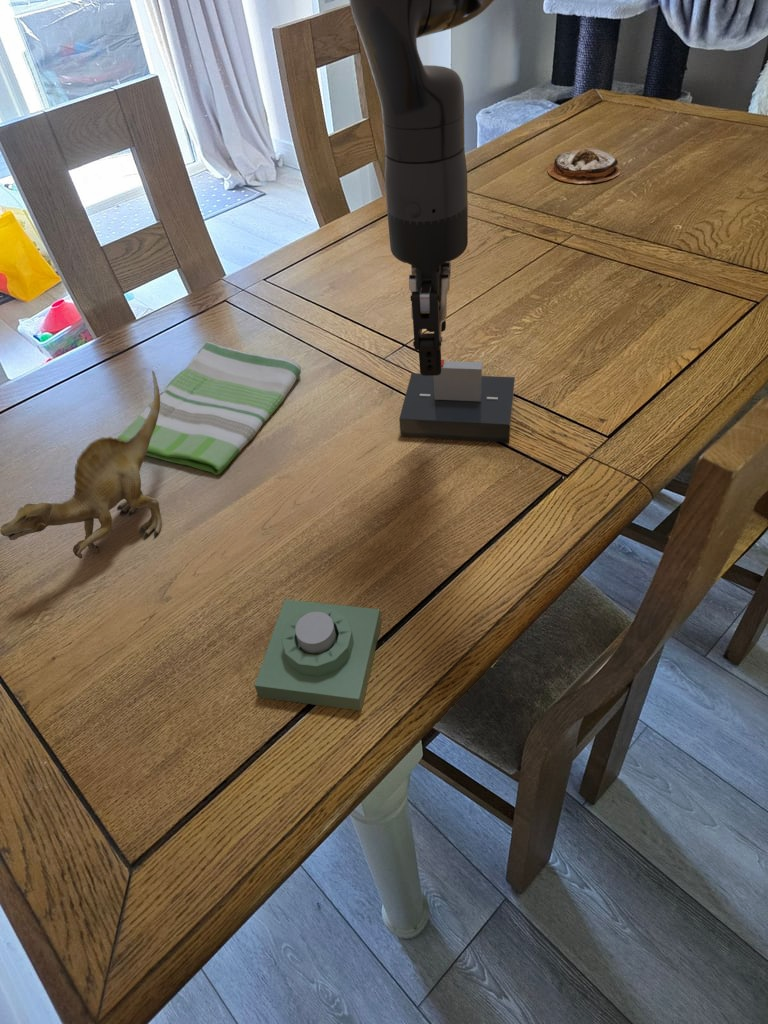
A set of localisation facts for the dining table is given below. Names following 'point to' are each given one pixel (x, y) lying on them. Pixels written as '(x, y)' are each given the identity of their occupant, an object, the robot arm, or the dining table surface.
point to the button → (315, 632)
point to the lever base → (458, 412)
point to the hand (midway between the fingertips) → (433, 351)
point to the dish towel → (216, 406)
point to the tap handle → (459, 381)
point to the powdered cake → (584, 166)
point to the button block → (321, 658)
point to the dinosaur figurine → (98, 489)
